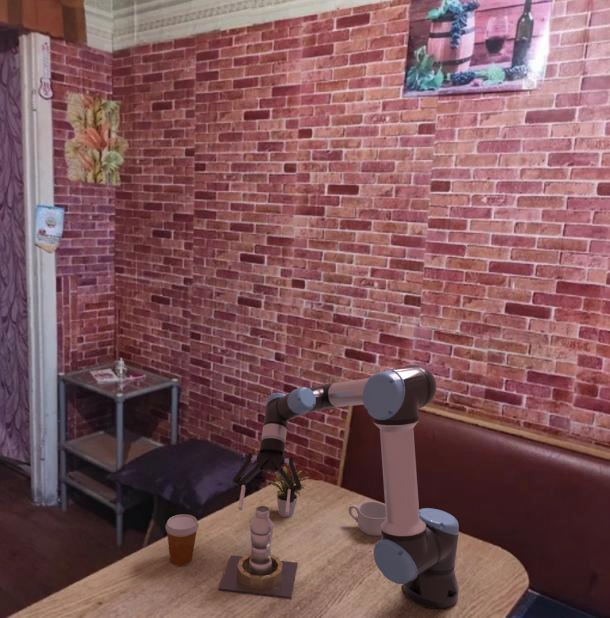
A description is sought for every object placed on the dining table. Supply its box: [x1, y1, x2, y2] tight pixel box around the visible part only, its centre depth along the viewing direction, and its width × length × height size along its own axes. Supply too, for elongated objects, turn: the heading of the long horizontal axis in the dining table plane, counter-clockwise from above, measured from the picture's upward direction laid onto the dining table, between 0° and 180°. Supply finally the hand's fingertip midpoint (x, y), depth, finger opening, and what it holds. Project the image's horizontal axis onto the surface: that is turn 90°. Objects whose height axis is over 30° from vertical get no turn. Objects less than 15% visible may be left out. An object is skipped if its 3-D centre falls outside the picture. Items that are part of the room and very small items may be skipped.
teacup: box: [348, 500, 386, 537], centre depth 196 cm, size 14×11×8 cm
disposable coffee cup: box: [164, 514, 200, 567], centre depth 173 cm, size 10×10×12 cm
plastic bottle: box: [249, 505, 274, 576], centre depth 167 cm, size 6×7×20 cm
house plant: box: [269, 465, 309, 518], centre depth 202 cm, size 14×14×16 cm
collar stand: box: [217, 553, 299, 600], centre depth 168 cm, size 20×16×4 cm
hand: (263, 511), depth 171 cm, fingers open, 13 cm apart
